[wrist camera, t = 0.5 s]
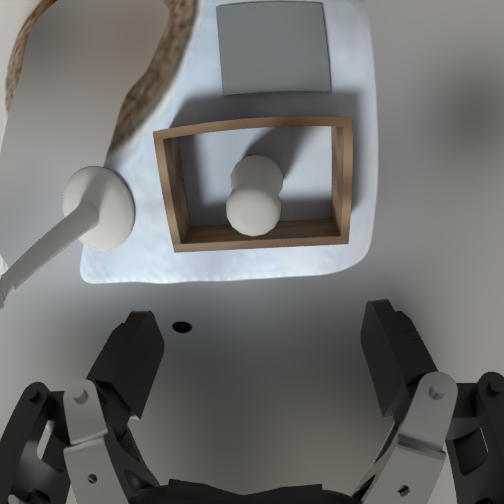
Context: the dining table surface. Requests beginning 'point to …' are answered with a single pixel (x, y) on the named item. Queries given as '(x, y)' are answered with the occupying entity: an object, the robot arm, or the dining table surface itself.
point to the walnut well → (283, 232)
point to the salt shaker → (255, 195)
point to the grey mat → (272, 48)
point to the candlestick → (79, 223)
